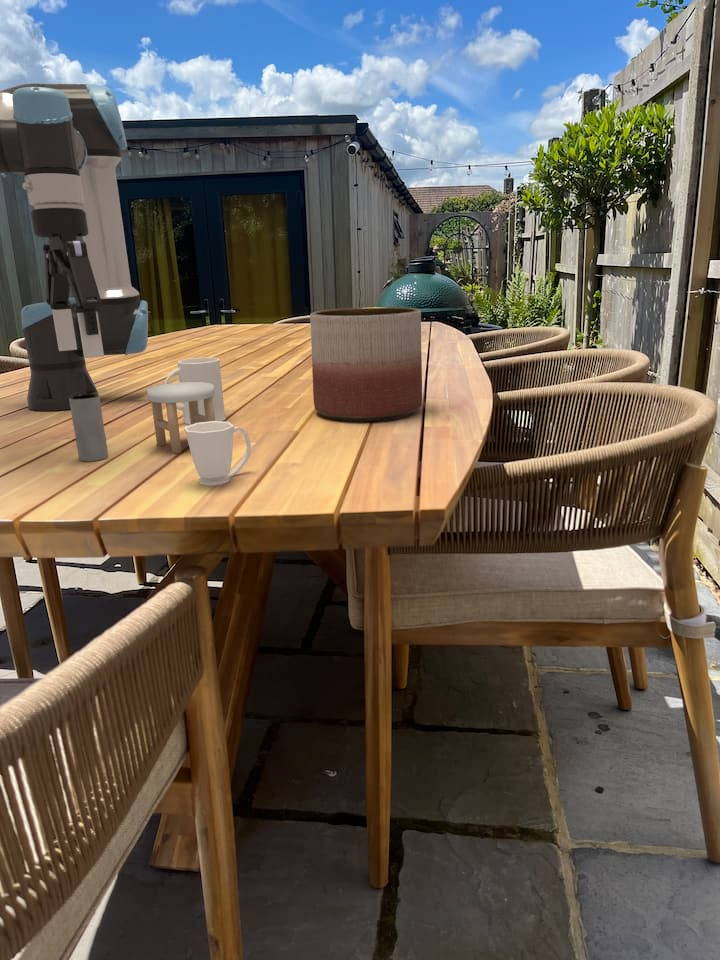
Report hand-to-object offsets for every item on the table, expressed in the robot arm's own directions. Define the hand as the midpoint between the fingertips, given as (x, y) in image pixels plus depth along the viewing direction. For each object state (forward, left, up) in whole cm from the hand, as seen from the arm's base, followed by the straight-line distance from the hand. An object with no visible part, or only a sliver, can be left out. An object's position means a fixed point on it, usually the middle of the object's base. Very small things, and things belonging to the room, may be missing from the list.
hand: (80, 353), depth 107 cm
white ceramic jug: (-13, +24, -17) cm, 32 cm away
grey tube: (0, 0, -17) cm, 17 cm away
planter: (+4, +54, -17) cm, 56 cm away
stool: (+3, +15, -17) cm, 22 cm away
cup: (+25, +11, -17) cm, 32 cm away
